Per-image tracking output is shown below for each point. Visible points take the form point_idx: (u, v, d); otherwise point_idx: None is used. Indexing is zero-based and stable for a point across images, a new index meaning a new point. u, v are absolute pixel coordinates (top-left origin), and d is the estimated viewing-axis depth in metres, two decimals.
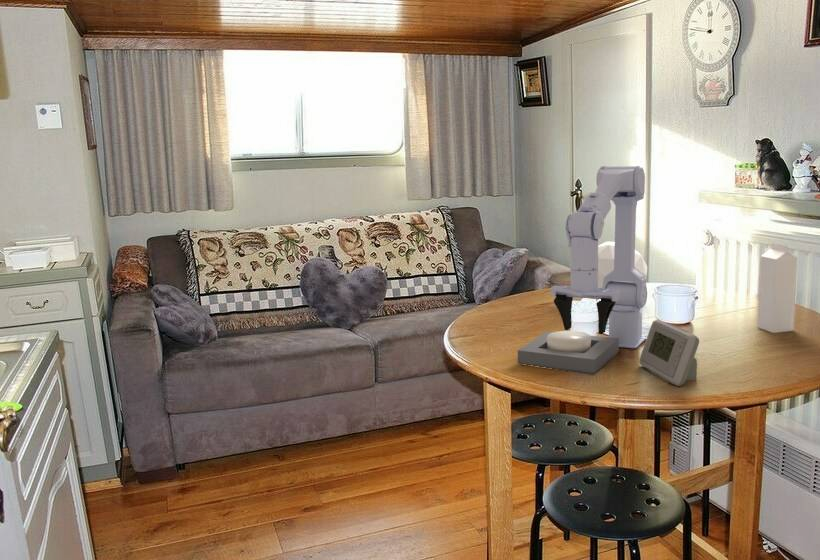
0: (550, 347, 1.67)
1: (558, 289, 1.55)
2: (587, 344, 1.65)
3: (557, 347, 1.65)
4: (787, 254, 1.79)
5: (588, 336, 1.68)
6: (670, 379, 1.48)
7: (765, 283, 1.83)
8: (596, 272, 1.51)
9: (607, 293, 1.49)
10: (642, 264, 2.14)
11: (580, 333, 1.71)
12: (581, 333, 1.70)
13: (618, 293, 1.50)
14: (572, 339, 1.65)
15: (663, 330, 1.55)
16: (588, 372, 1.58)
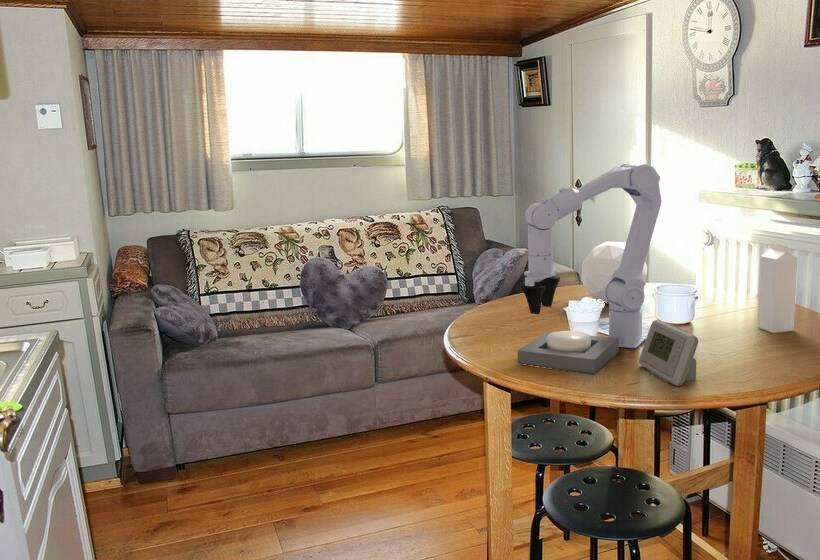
0: (550, 347, 1.67)
1: None
2: (587, 344, 1.65)
3: (557, 347, 1.65)
4: (787, 254, 1.79)
5: (588, 336, 1.68)
6: (669, 379, 1.49)
7: (765, 283, 1.83)
8: (534, 258, 1.70)
9: (526, 277, 1.69)
10: None
11: (580, 333, 1.71)
12: (581, 333, 1.70)
13: (529, 280, 1.66)
14: (572, 339, 1.65)
15: (662, 330, 1.55)
16: (588, 372, 1.58)
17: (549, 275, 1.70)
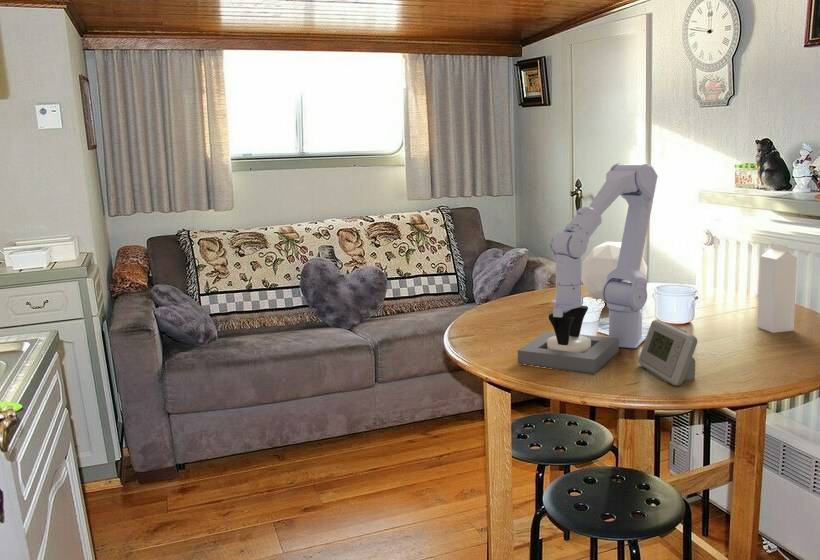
0: None
1: None
2: (587, 348, 1.65)
3: None
4: (787, 254, 1.79)
5: (588, 340, 1.68)
6: (668, 379, 1.49)
7: (765, 283, 1.83)
8: (562, 288, 1.64)
9: None
10: (642, 264, 2.14)
11: (580, 337, 1.71)
12: (581, 337, 1.71)
13: (558, 310, 1.61)
14: (572, 343, 1.66)
15: (662, 330, 1.55)
16: (588, 372, 1.58)
17: (578, 305, 1.64)
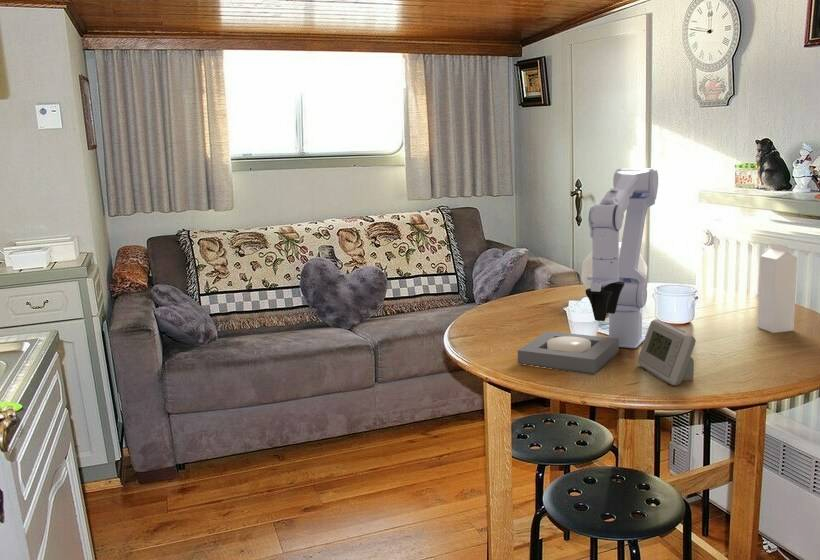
0: None
1: None
2: (587, 350, 1.65)
3: None
4: (787, 254, 1.79)
5: (588, 342, 1.68)
6: (666, 379, 1.49)
7: (765, 283, 1.83)
8: (599, 262, 1.60)
9: (592, 282, 1.59)
10: (642, 264, 2.14)
11: (580, 339, 1.71)
12: (581, 339, 1.71)
13: (596, 285, 1.57)
14: (572, 345, 1.66)
15: (661, 330, 1.55)
16: (588, 372, 1.58)
17: (615, 280, 1.61)
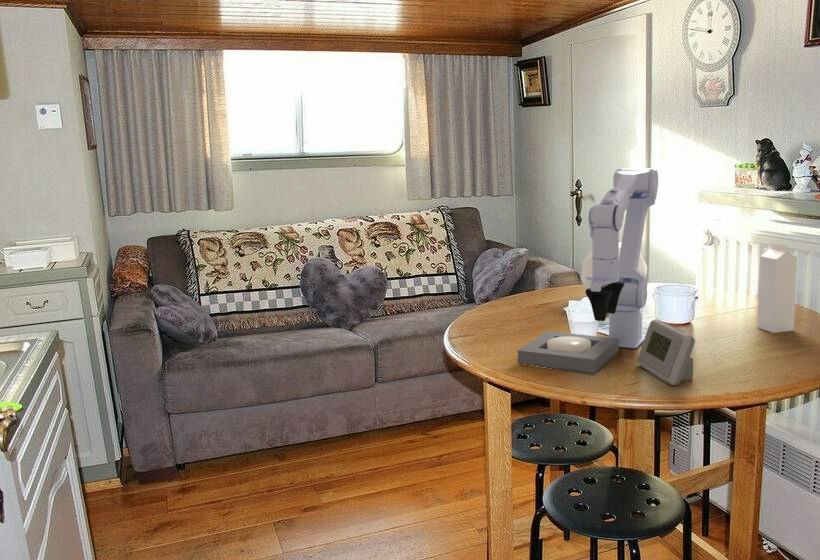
0: None
1: None
2: (587, 350, 1.65)
3: None
4: (787, 254, 1.79)
5: (588, 342, 1.68)
6: (666, 379, 1.49)
7: (765, 283, 1.83)
8: (599, 262, 1.60)
9: (592, 282, 1.59)
10: (642, 264, 2.14)
11: (580, 339, 1.71)
12: (581, 339, 1.71)
13: (596, 285, 1.57)
14: (572, 345, 1.66)
15: (660, 330, 1.56)
16: (588, 372, 1.58)
17: (615, 280, 1.61)
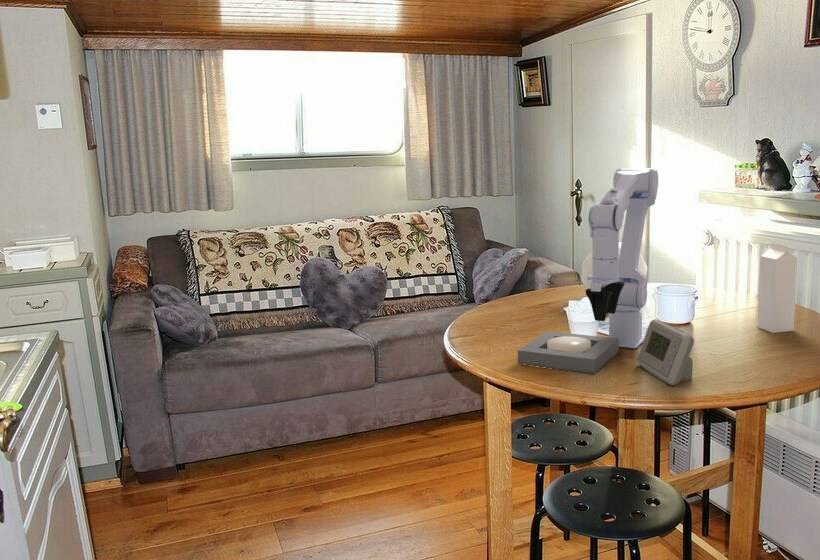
0: None
1: None
2: (587, 350, 1.65)
3: None
4: (787, 254, 1.79)
5: (588, 342, 1.68)
6: (665, 378, 1.49)
7: (765, 283, 1.83)
8: (599, 262, 1.60)
9: (592, 282, 1.59)
10: (642, 264, 2.14)
11: (580, 339, 1.71)
12: (581, 339, 1.71)
13: (596, 285, 1.57)
14: (572, 345, 1.66)
15: (660, 330, 1.56)
16: (588, 372, 1.58)
17: (615, 280, 1.61)
